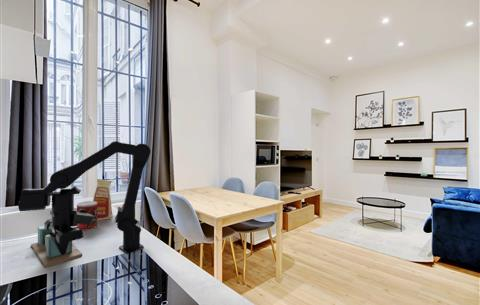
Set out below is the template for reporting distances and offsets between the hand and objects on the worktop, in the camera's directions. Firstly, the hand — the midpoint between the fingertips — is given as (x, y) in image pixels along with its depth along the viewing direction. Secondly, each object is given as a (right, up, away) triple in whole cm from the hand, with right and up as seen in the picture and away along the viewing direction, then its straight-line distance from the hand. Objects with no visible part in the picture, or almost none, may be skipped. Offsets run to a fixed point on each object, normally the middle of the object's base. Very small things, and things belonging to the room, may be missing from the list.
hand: (63, 254), depth 76 cm
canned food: (-11, 0, +28) cm, 30 cm away
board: (-7, -1, +6) cm, 9 cm away
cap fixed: (-14, 0, +11) cm, 18 cm away
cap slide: (-4, -1, +3) cm, 5 cm away
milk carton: (-12, 0, +42) cm, 44 cm away
